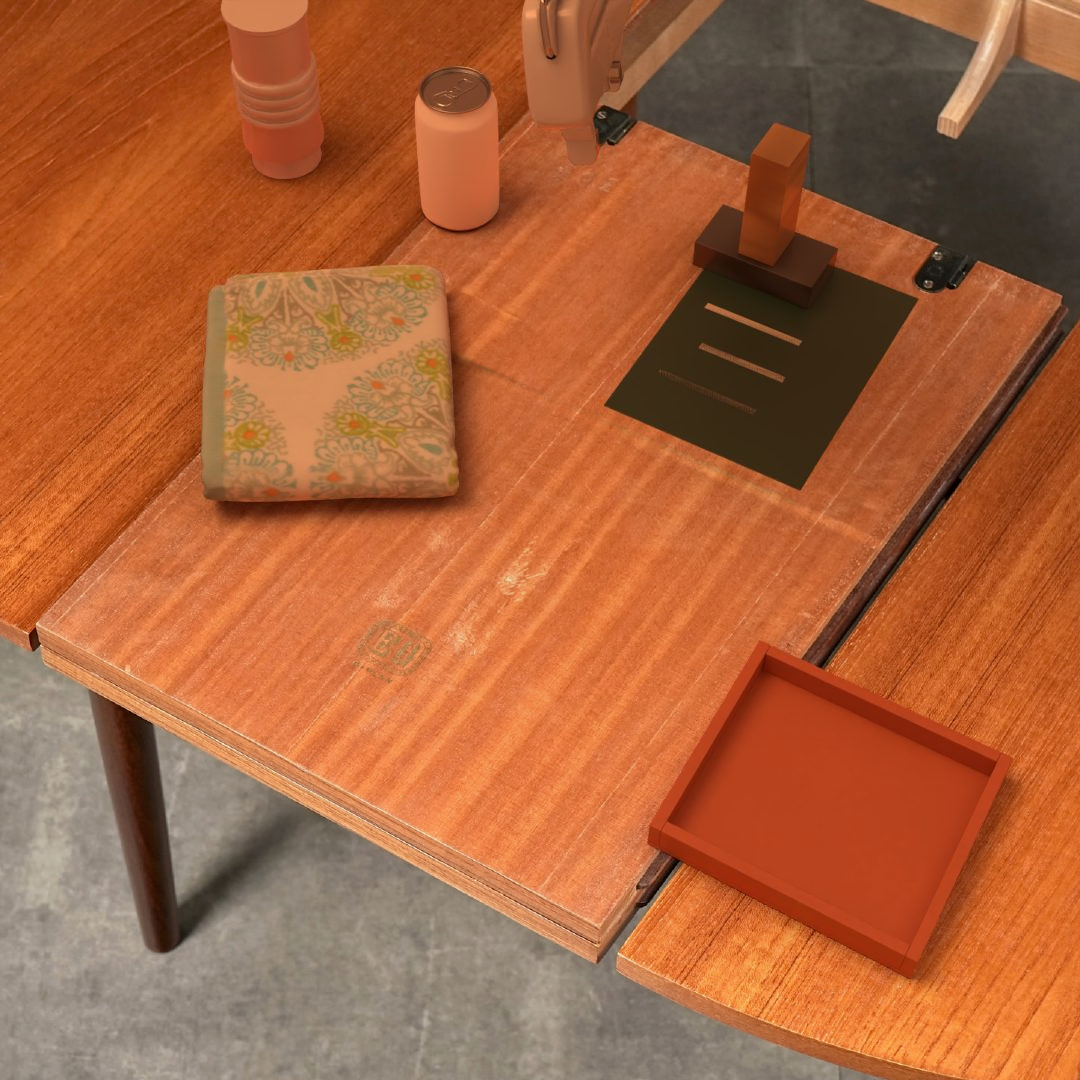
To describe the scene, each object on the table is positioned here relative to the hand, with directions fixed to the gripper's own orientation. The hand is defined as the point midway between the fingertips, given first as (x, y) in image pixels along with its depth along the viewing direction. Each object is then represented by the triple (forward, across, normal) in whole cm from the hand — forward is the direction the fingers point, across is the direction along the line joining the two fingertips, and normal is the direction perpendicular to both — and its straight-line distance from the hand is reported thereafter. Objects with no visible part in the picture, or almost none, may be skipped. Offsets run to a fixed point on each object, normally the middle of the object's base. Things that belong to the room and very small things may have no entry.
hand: (597, 122), depth 110 cm
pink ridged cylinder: (+15, +22, +32) cm, 42 cm away
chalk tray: (+32, -29, -16) cm, 47 cm away
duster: (+22, +16, -8) cm, 28 cm away
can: (+18, +19, +17) cm, 31 cm away
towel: (+21, -3, +22) cm, 31 cm away
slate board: (+24, +7, -9) cm, 27 cm away
